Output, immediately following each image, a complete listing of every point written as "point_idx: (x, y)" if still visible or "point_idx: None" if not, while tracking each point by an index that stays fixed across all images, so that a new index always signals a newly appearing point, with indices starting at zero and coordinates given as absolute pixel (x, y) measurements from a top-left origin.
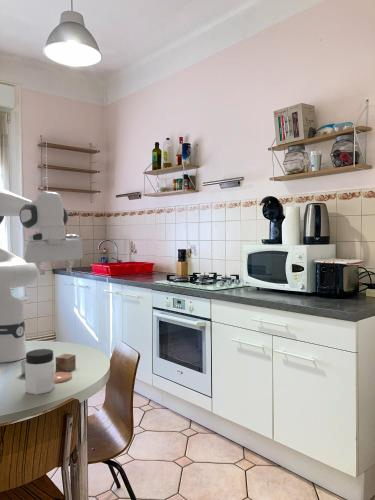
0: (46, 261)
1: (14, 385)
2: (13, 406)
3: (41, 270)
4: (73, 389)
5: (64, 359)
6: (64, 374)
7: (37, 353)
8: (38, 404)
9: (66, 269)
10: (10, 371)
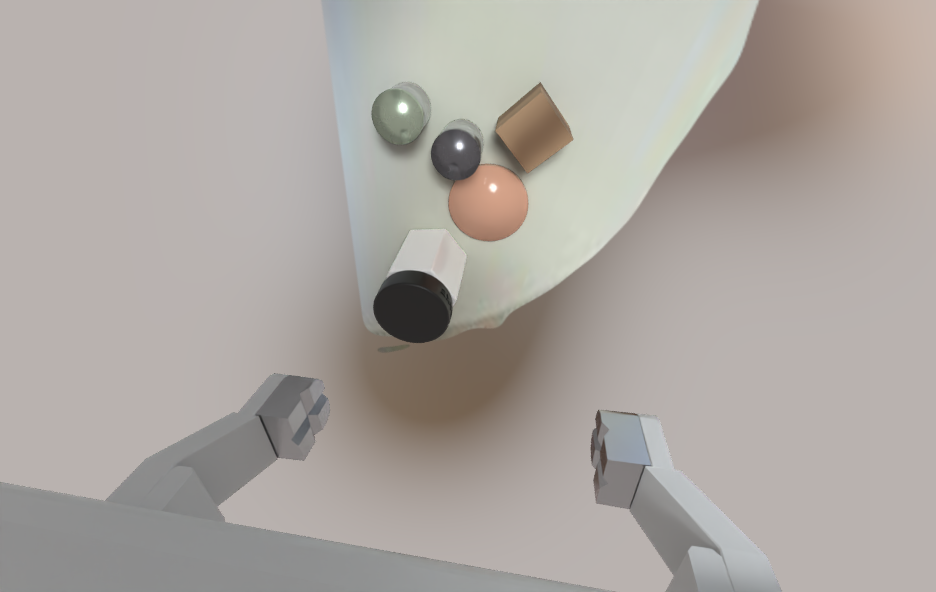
0: (259, 535)
1: (370, 193)
2: None
3: (272, 450)
4: (503, 292)
5: (521, 163)
6: (508, 200)
7: (404, 322)
8: None
9: (604, 438)
10: (345, 31)
